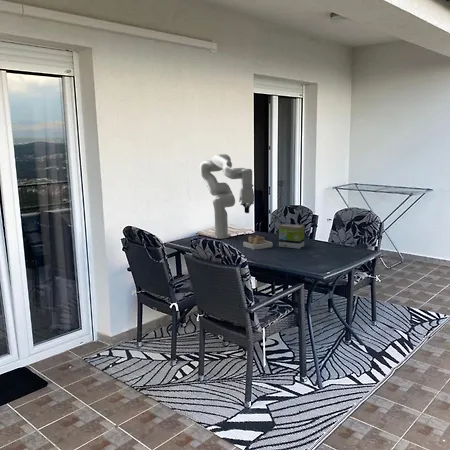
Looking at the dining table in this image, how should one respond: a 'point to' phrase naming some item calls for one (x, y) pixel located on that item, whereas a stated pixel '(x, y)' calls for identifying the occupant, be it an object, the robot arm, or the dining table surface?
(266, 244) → the bay
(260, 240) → the cart
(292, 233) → the tea box
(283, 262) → the dining table surface
